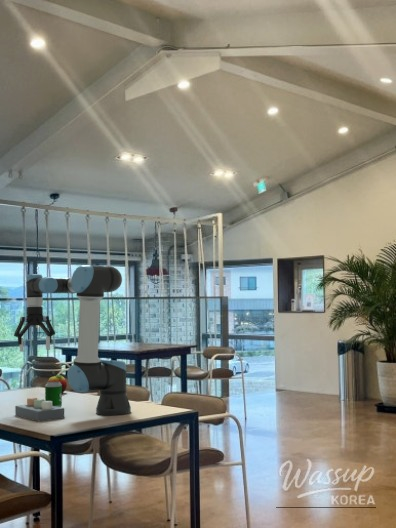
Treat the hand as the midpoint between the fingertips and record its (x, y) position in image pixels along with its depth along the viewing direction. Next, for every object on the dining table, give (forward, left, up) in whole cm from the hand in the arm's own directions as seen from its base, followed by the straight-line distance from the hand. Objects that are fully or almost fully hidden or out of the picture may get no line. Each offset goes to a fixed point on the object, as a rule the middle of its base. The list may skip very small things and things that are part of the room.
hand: (34, 350), depth 315 cm
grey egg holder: (-29, +12, -26) cm, 41 cm away
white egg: (-36, +12, -24) cm, 45 cm away
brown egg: (-22, +12, -24) cm, 35 cm away
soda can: (-13, -3, -27) cm, 30 cm away
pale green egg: (-29, +12, -24) cm, 40 cm away
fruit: (+35, -30, -27) cm, 53 cm away
